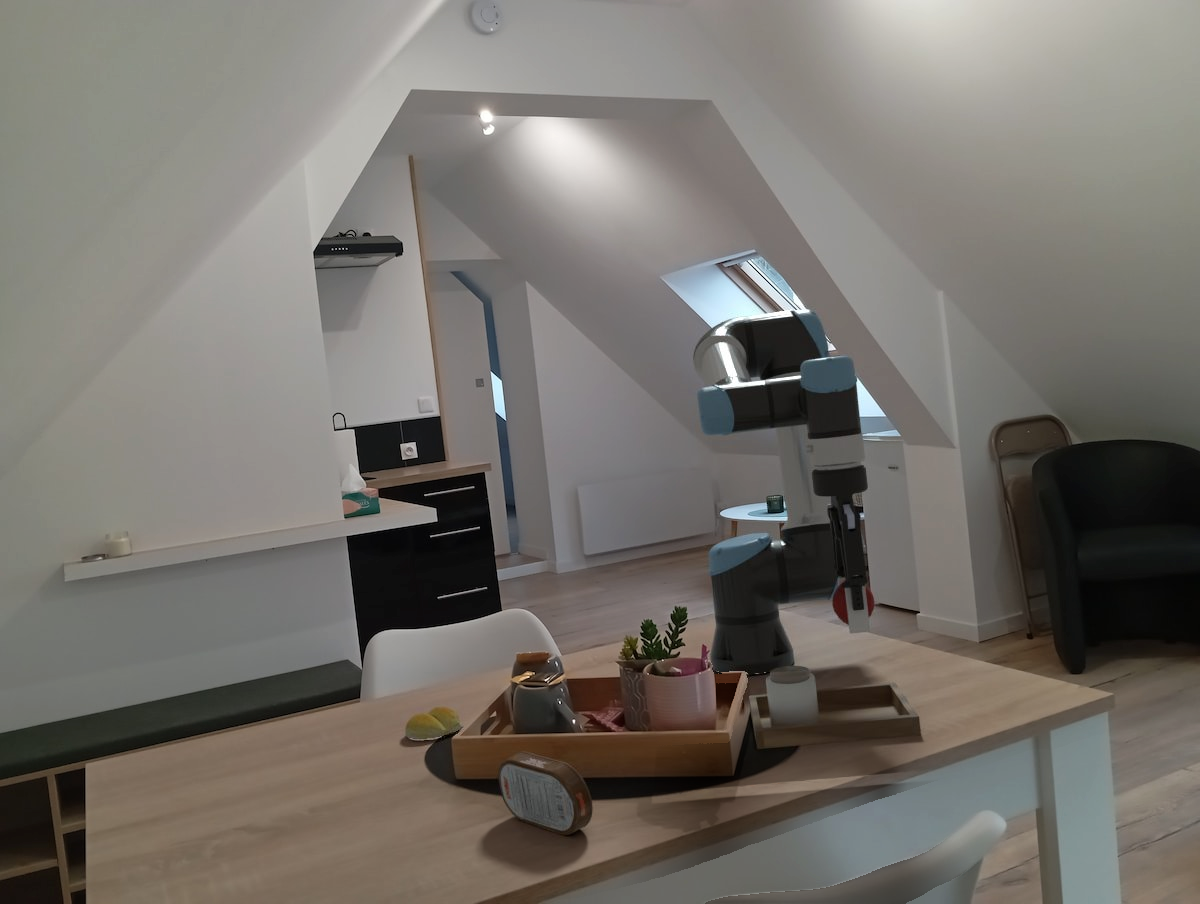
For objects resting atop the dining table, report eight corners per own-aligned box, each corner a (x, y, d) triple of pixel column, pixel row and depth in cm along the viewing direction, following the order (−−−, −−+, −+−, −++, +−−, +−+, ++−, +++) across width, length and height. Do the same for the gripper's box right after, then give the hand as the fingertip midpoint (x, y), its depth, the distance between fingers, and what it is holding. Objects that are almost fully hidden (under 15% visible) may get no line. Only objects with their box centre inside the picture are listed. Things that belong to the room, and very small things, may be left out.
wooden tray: (751, 718, 152) (748, 695, 152) (897, 705, 150) (895, 682, 150) (758, 755, 136) (755, 730, 136) (921, 741, 134) (919, 716, 134)
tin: (598, 834, 118) (589, 765, 118) (579, 845, 116) (570, 774, 115) (517, 808, 129) (509, 744, 128) (498, 817, 127) (490, 752, 126)
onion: (881, 630, 139) (875, 574, 139) (840, 635, 139) (834, 579, 139) (871, 621, 145) (865, 567, 145) (831, 626, 145) (825, 572, 145)
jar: (769, 719, 148) (763, 667, 147) (816, 715, 147) (810, 662, 147) (773, 736, 141) (766, 680, 140) (823, 731, 140) (816, 675, 140)
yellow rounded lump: (399, 737, 165) (395, 713, 165) (448, 722, 170) (445, 699, 170) (418, 747, 159) (415, 723, 158) (469, 731, 163) (466, 708, 163)
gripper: (803, 464, 151) (820, 614, 152) (819, 474, 132) (839, 645, 133) (853, 458, 150) (870, 609, 151) (877, 467, 131) (896, 640, 132)
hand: (856, 626), depth 142 cm, fingers closed on onion, 6 cm apart
